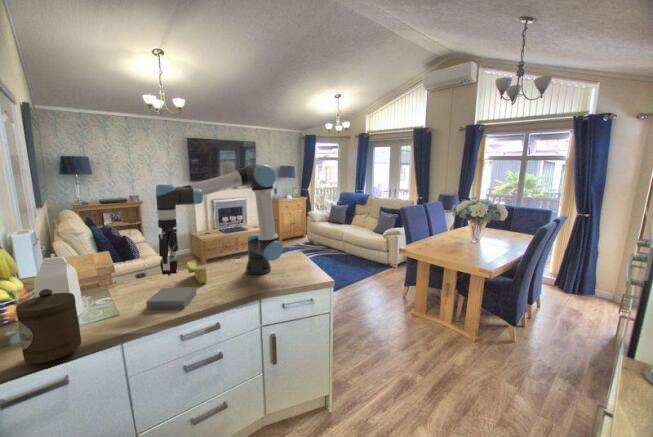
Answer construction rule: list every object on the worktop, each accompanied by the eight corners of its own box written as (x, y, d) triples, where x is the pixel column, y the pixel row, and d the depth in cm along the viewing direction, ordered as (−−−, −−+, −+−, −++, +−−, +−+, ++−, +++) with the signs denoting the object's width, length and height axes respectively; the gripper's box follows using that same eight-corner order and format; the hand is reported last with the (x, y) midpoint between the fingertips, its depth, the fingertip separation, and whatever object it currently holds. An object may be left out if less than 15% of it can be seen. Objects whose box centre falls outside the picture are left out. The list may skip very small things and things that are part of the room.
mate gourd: (162, 272, 143) (159, 241, 141) (180, 270, 146) (178, 240, 144) (160, 277, 136) (157, 244, 134) (179, 275, 139) (177, 243, 137)
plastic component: (207, 283, 166) (205, 266, 165) (192, 286, 162) (191, 269, 160) (197, 274, 182) (196, 258, 180) (184, 276, 178) (182, 260, 176)
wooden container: (28, 347, 106) (19, 287, 102) (82, 334, 115) (75, 279, 111) (19, 370, 94) (8, 303, 91) (80, 353, 103) (72, 292, 99)
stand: (196, 294, 152) (195, 287, 151) (184, 309, 136) (183, 300, 136) (163, 295, 151) (162, 287, 150) (147, 310, 135) (146, 301, 134)
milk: (37, 326, 120) (27, 263, 116) (49, 314, 130) (41, 255, 126) (74, 321, 125) (66, 260, 121) (83, 309, 135) (77, 252, 131)
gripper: (168, 215, 147) (170, 261, 150) (147, 222, 127) (151, 274, 131) (184, 215, 147) (186, 261, 151) (166, 222, 128) (169, 274, 131)
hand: (170, 267), depth 141 cm, fingers closed on mate gourd, 7 cm apart
